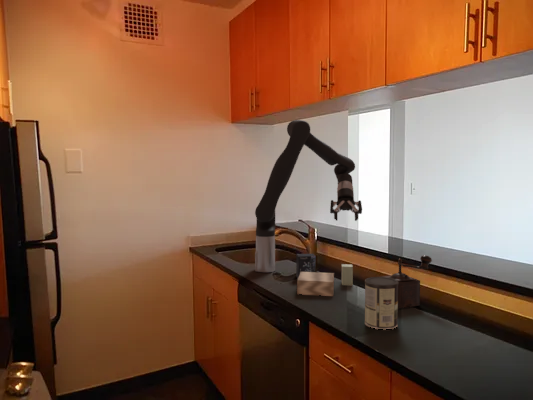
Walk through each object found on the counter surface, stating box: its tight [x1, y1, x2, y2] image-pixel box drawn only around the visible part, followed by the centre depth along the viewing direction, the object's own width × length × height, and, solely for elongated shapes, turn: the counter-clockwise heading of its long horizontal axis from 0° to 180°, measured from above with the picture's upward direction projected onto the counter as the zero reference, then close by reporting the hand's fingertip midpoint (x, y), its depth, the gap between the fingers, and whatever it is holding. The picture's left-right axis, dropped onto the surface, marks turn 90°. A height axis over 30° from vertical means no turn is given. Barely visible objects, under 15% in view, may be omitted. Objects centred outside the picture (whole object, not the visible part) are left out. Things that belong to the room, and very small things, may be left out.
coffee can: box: [364, 276, 399, 331], centre depth 132 cm, size 10×10×14 cm
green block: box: [340, 263, 354, 286], centre depth 179 cm, size 4×4×8 cm
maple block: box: [296, 271, 335, 297], centre depth 170 cm, size 14×14×6 cm
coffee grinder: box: [381, 254, 433, 310], centre depth 153 cm, size 16×11×18 cm
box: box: [295, 253, 317, 279], centre depth 189 cm, size 8×6×11 cm
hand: (346, 219), depth 187 cm, fingers open, 8 cm apart
